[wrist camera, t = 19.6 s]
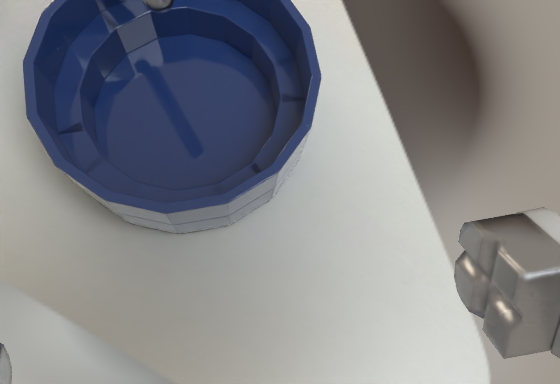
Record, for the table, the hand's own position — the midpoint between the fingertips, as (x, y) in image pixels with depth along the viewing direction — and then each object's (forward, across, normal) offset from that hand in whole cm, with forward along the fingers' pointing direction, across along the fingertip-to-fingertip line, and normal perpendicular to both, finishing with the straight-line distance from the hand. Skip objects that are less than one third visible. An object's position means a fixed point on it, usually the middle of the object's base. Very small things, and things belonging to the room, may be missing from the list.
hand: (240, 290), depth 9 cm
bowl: (+22, +1, +5) cm, 22 cm away
